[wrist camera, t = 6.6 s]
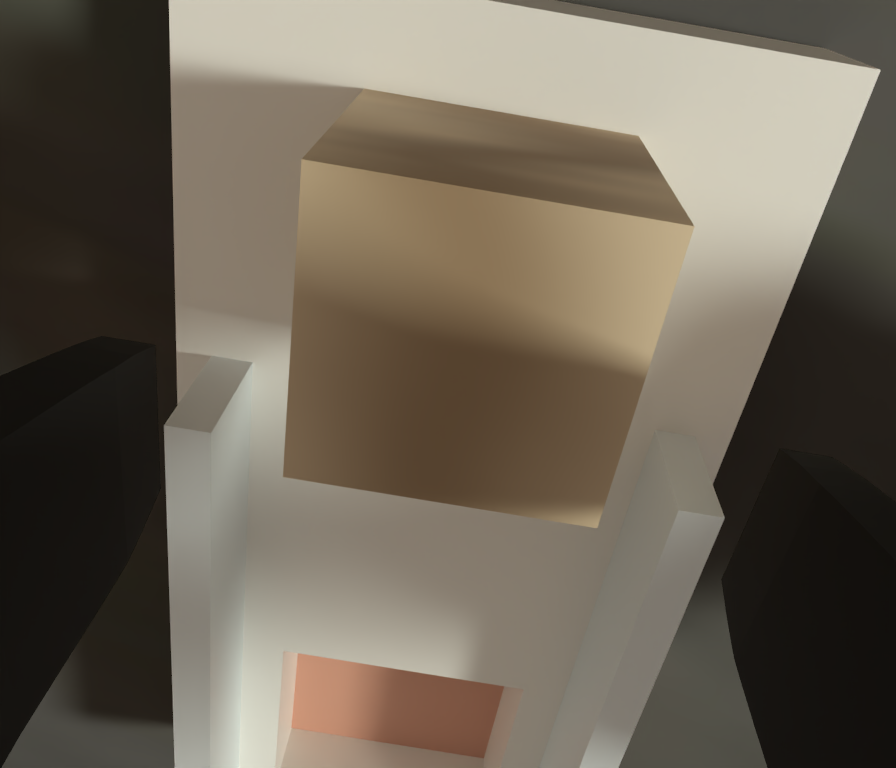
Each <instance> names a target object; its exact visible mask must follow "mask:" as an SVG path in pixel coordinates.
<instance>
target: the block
mask: <svg viewBox="0 0 896 768" xmlns="http://www.w3.org/2000/svg"><path fill="white" fill-rule="evenodd" d="M694 227H695V226H694V225H693V223H692V221H691V220H690V218H689V217H688V215H687V213H686V212H685V210H684V208H683V207H682V205H681V204H680V202H679V200H678V199H677V197H676V195H675V194H674V192H673V191H672V189H671V187H670V186H669V184H668V183H667V181H666V179H665V178H664V176H663V174H662V173H661V171H660V170H659V168H658V166H657V165H656V163H655V162H654V160H653V158H652V157H651V155H650V153H649V152H648V150H647V149H646V147H645V145H644V144H643V142H642V141H641V139H640V137H639V136H637V135H631V134H625V133H619V132H613V131H608V130H602V129H596V128H590V127H584V126H579V125H573V124H567V123H561V122H556V121H550V120H544V119H538V118H532V117H527V116H521V115H515V114H509V113H503V112H498V111H492V110H486V109H480V108H475V107H469V106H463V105H457V104H451V103H446V102H440V101H434V100H428V99H422V98H417V97H411V96H405V95H399V94H394V93H388V92H382V91H376V90H370V89H365V88H364V90H363V91H362V92H361V93H360V94H359V95H358V96H357V97H356V99H355V100H354V101H353V102H352V103H351V104H350V105H349V106H348V108H347V109H346V110H345V111H344V112H343V113H342V114H341V115H340V117H339V118H338V119H337V120H336V121H335V122H334V123H333V124H332V126H331V127H330V128H329V129H328V130H327V131H326V132H325V133H324V135H323V136H322V137H321V138H320V139H319V140H318V141H317V142H316V144H315V145H314V146H313V147H312V148H311V149H310V150H309V151H308V153H307V154H306V155H305V156H304V157H303V158H302V161H301V178H300V195H299V212H298V229H297V245H296V262H295V279H294V296H293V313H292V330H291V347H290V364H289V381H288V398H287V415H286V432H285V448H284V465H283V477H286V478H292V479H298V480H304V481H310V482H316V483H322V484H328V485H335V486H341V487H347V488H353V489H359V490H365V491H371V492H377V493H384V494H390V495H396V496H402V497H408V498H414V499H420V500H426V501H433V502H439V503H445V504H451V505H457V506H463V507H469V508H475V509H482V510H488V511H494V512H500V513H506V514H512V515H518V516H524V517H531V518H537V519H543V520H549V521H555V522H561V523H567V524H573V525H580V526H586V527H592V528H598V525H599V521H600V518H601V515H602V512H603V509H604V506H605V503H606V500H607V497H608V493H609V490H610V487H611V484H612V481H613V478H614V475H615V472H616V469H617V466H618V462H619V459H620V456H621V453H622V450H623V447H624V444H625V441H626V438H627V435H628V431H629V428H630V425H631V422H632V419H633V416H634V413H635V410H636V407H637V403H638V400H639V397H640V394H641V391H642V388H643V385H644V382H645V379H646V376H647V372H648V369H649V366H650V363H651V360H652V357H653V354H654V351H655V348H656V344H657V341H658V338H659V335H660V332H661V329H662V326H663V323H664V320H665V317H666V313H667V310H668V307H669V304H670V301H671V298H672V295H673V292H674V289H675V286H676V282H677V279H678V276H679V273H680V270H681V267H682V264H683V261H684V258H685V254H686V251H687V248H688V245H689V242H690V239H691V236H692V233H693V230H694Z"/></svg>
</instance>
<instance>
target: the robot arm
mask: <svg viewBox="0 0 896 768" xmlns="http://www.w3.org/2000/svg"><path fill="white" fill-rule="evenodd" d="M160 489H161V488H160V461H159V434H158V407H157V380H156V353H155V345H152V344H146V343H140V342H134V341H128V340H122V339H116V338H110V337H104V336H101V337H97V338H94V339H91V340H88V341H85V342H82V343H79V344H76V345H74V346H71V347H69V348H66V349H64V350H61V351H59V352H56V353H54V354H51V355H49V356H46V357H44V358H42V359H39V360H37V361H34V362H32V363H30V364H27V365H25V366H23V367H20V368H18V369H16V370H13V371H11V372H8V373H6V374H4V375H1V376H0V768H1V767H2V765H3V764H4V762H5V760H6V758H7V757H8V755H9V753H10V752H11V750H12V748H13V746H14V745H15V743H16V741H17V739H18V738H19V736H20V734H21V733H22V731H23V729H24V728H25V726H26V725H27V723H28V721H29V720H30V718H31V717H32V715H33V713H34V712H35V710H36V709H37V707H38V705H39V704H40V702H41V701H42V699H43V697H44V696H45V694H46V693H47V691H48V690H49V688H50V686H51V685H52V683H53V682H54V680H55V678H56V677H57V675H58V674H59V672H60V670H61V669H62V667H63V666H64V664H65V662H66V661H67V659H68V658H69V656H70V655H71V653H72V651H73V650H74V648H75V647H76V645H77V643H78V642H79V640H80V639H81V637H82V635H83V634H84V632H85V631H86V629H87V627H88V626H89V624H90V623H91V621H92V619H93V618H94V616H95V615H96V613H97V611H98V610H99V608H100V607H101V605H102V603H103V602H104V600H105V598H106V597H107V595H108V594H109V592H110V590H111V589H112V587H113V585H114V584H115V582H116V581H117V579H118V577H119V576H120V574H121V572H122V571H123V569H124V567H125V566H126V564H127V562H128V560H129V558H130V556H131V554H132V552H133V550H134V547H135V545H136V543H137V541H138V539H139V537H140V534H141V532H142V530H143V528H144V526H145V523H146V521H147V519H148V516H149V514H150V512H151V509H152V507H153V505H154V502H155V500H156V498H157V495H158V493H159V491H160ZM722 586H723V593H724V599H725V606H726V613H727V620H728V626H729V632H730V637H731V643H732V649H733V654H734V659H735V663H736V666H737V670H738V673H739V677H740V680H741V683H742V687H743V690H744V693H745V696H746V700H747V703H748V706H749V710H750V713H751V716H752V719H753V723H754V726H755V729H756V732H757V735H758V739H759V742H760V745H761V748H762V751H763V754H764V758H765V761H766V764H767V767H768V768H896V502H895V501H893V500H892V499H891V498H889V497H888V496H887V495H885V494H884V493H883V492H881V491H880V490H879V489H878V488H876V487H875V486H874V485H872V484H871V483H870V482H868V481H867V480H865V479H864V478H863V477H861V476H860V475H859V474H857V473H856V472H854V471H853V470H851V469H850V468H848V467H847V466H845V465H844V464H842V463H841V462H839V461H837V460H836V459H834V458H832V457H827V456H821V455H815V454H809V453H803V452H797V451H791V450H785V449H780V450H779V452H778V454H777V456H776V459H775V461H774V463H773V465H772V468H771V470H770V472H769V474H768V477H767V479H766V481H765V483H764V486H763V488H762V490H761V492H760V495H759V497H758V499H757V501H756V503H755V506H754V508H753V510H752V512H751V515H750V517H749V519H748V521H747V524H746V526H745V528H744V530H743V533H742V535H741V537H740V539H739V542H738V544H737V546H736V548H735V551H734V553H733V555H732V557H731V559H730V562H729V564H728V566H727V568H726V571H725V573H724V575H723V577H722Z"/></svg>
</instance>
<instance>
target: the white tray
mask: <svg viewBox="0 0 896 768" xmlns="http://www.w3.org/2000/svg"><path fill="white" fill-rule="evenodd" d="M169 32H170V78H171V125H172V172H173V219H174V265H175V312H176V359H177V407H176V408H175V410H174V411H173V413H172V414H171V416H170V417H169V419H168V420H167V421H166V423H165V424H164V446H165V477H166V508H167V539H168V570H169V601H170V632H171V663H172V694H173V726H174V757H175V768H618V767H619V765H620V763H621V760H622V758H623V756H624V753H625V751H626V749H627V746H628V744H629V741H630V739H631V737H632V734H633V732H634V730H635V727H636V725H637V723H638V720H639V718H640V716H641V713H642V711H643V709H644V706H645V704H646V702H647V699H648V697H649V695H650V692H651V690H652V688H653V685H654V683H655V681H656V678H657V676H658V673H659V671H660V669H661V666H662V664H663V662H664V659H665V657H666V655H667V652H668V650H669V648H670V645H671V643H672V641H673V638H674V636H675V634H676V631H677V629H678V627H679V624H680V622H681V620H682V617H683V615H684V613H685V610H686V608H687V605H688V603H689V601H690V598H691V596H692V594H693V591H694V589H695V587H696V584H697V582H698V580H699V577H700V575H701V573H702V570H703V568H704V566H705V563H706V561H707V559H708V556H709V554H710V552H711V549H712V547H713V545H714V542H715V540H716V537H717V535H718V533H719V530H720V528H721V526H722V523H723V521H724V519H725V517H724V514H723V512H722V509H721V506H720V503H719V501H718V498H717V495H716V492H715V490H714V487H713V482H714V480H715V478H716V475H717V473H718V470H719V468H720V465H721V463H722V460H723V458H724V455H725V453H726V450H727V448H728V445H729V443H730V441H731V438H732V436H733V433H734V431H735V428H736V426H737V423H738V421H739V418H740V416H741V413H742V411H743V408H744V406H745V404H746V401H747V399H748V396H749V394H750V391H751V389H752V386H753V384H754V381H755V379H756V376H757V374H758V371H759V369H760V367H761V364H762V362H763V359H764V357H765V354H766V352H767V349H768V347H769V344H770V342H771V339H772V337H773V334H774V332H775V329H776V327H777V325H778V322H779V320H780V317H781V315H782V312H783V310H784V307H785V305H786V302H787V300H788V297H789V295H790V292H791V290H792V288H793V285H794V283H795V280H796V278H797V275H798V273H799V270H800V268H801V265H802V263H803V260H804V258H805V255H806V253H807V251H808V248H809V246H810V243H811V241H812V238H813V236H814V233H815V231H816V228H817V226H818V223H819V221H820V218H821V216H822V214H823V211H824V209H825V206H826V204H827V201H828V199H829V196H830V194H831V191H832V189H833V186H834V184H835V181H836V179H837V177H838V174H839V172H840V169H841V167H842V164H843V162H844V159H845V157H846V154H847V152H848V149H849V147H850V144H851V142H852V140H853V137H854V135H855V132H856V130H857V127H858V125H859V122H860V120H861V117H862V115H863V112H864V110H865V107H866V105H867V102H868V100H869V98H870V95H871V93H872V90H873V88H874V85H875V83H876V80H877V78H878V75H879V73H880V69H877V68H875V67H872V66H870V65H867V64H864V63H862V62H859V61H857V60H854V59H851V58H849V57H846V56H844V55H841V54H839V53H836V52H833V51H831V50H828V49H826V48H821V47H815V46H810V45H804V44H798V43H793V42H787V41H782V40H776V39H770V38H765V37H759V36H753V35H748V34H742V33H736V32H731V31H725V30H720V29H714V28H708V27H703V26H697V25H691V24H686V23H680V22H675V21H669V20H663V19H658V18H652V17H646V16H641V15H635V14H629V13H624V12H618V11H613V10H607V9H601V8H596V7H590V6H584V5H579V4H573V3H568V2H562V1H556V0H169ZM364 88H365V89H370V90H376V91H382V92H388V93H394V94H399V95H405V96H411V97H417V98H422V99H428V100H434V101H440V102H446V103H451V104H457V105H463V106H469V107H475V108H480V109H486V110H492V111H498V112H503V113H509V114H515V115H521V116H527V117H532V118H538V119H544V120H550V121H556V122H561V123H567V124H573V125H579V126H584V127H590V128H596V129H602V130H608V131H613V132H619V133H625V134H631V135H637V136H639V137H640V139H641V141H642V142H643V144H644V145H645V147H646V149H647V150H648V152H649V153H650V155H651V157H652V158H653V160H654V162H655V163H656V165H657V166H658V168H659V170H660V171H661V173H662V174H663V176H664V178H665V179H666V181H667V183H668V184H669V186H670V187H671V189H672V191H673V192H674V194H675V195H676V197H677V199H678V200H679V202H680V204H681V205H682V207H683V208H684V210H685V212H686V213H687V215H688V217H689V218H690V220H691V221H692V223H693V225H694V226H695V227H694V230H693V233H692V236H691V239H690V242H689V245H688V248H687V251H686V254H685V258H684V261H683V264H682V267H681V270H680V273H679V276H678V279H677V282H676V286H675V289H674V292H673V295H672V298H671V301H670V304H669V307H668V310H667V313H666V317H665V320H664V323H663V326H662V329H661V332H660V335H659V338H658V341H657V344H656V348H655V351H654V354H653V357H652V360H651V363H650V366H649V369H648V372H647V376H646V379H645V382H644V385H643V388H642V391H641V394H640V397H639V400H638V403H637V407H636V410H635V413H634V416H633V419H632V422H631V425H630V428H629V431H628V435H627V438H626V441H625V444H624V447H623V450H622V453H621V456H620V459H619V462H618V466H617V469H616V472H615V475H614V478H613V481H612V484H611V487H610V490H609V493H608V497H607V500H606V503H605V506H604V509H603V512H602V515H601V518H600V521H599V525H598V528H592V527H586V526H580V525H573V524H567V523H561V522H555V521H549V520H543V519H537V518H531V517H524V516H518V515H512V514H506V513H500V512H494V511H488V510H482V509H475V508H469V507H463V506H457V505H451V504H445V503H439V502H433V501H426V500H420V499H414V498H408V497H402V496H396V495H390V494H384V493H377V492H371V491H365V490H359V489H353V488H347V487H341V486H335V485H328V484H322V483H316V482H310V481H304V480H298V479H292V478H286V477H283V465H284V448H285V432H286V415H287V398H288V381H289V364H290V347H291V330H292V313H293V296H294V279H295V262H296V245H297V229H298V212H299V195H300V178H301V161H302V158H303V157H304V156H305V155H306V154H307V153H308V151H309V150H310V149H311V148H312V147H313V146H314V145H315V144H316V142H317V141H318V140H319V139H320V138H321V137H322V136H323V135H324V133H325V132H326V131H327V130H328V129H329V128H330V127H331V126H332V124H333V123H334V122H335V121H336V120H337V119H338V118H339V117H340V115H341V114H342V113H343V112H344V111H345V110H346V109H347V108H348V106H349V105H350V104H351V103H352V102H353V101H354V100H355V99H356V97H357V96H358V95H359V94H360V93H361V92H362V91H363V90H364Z"/></svg>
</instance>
